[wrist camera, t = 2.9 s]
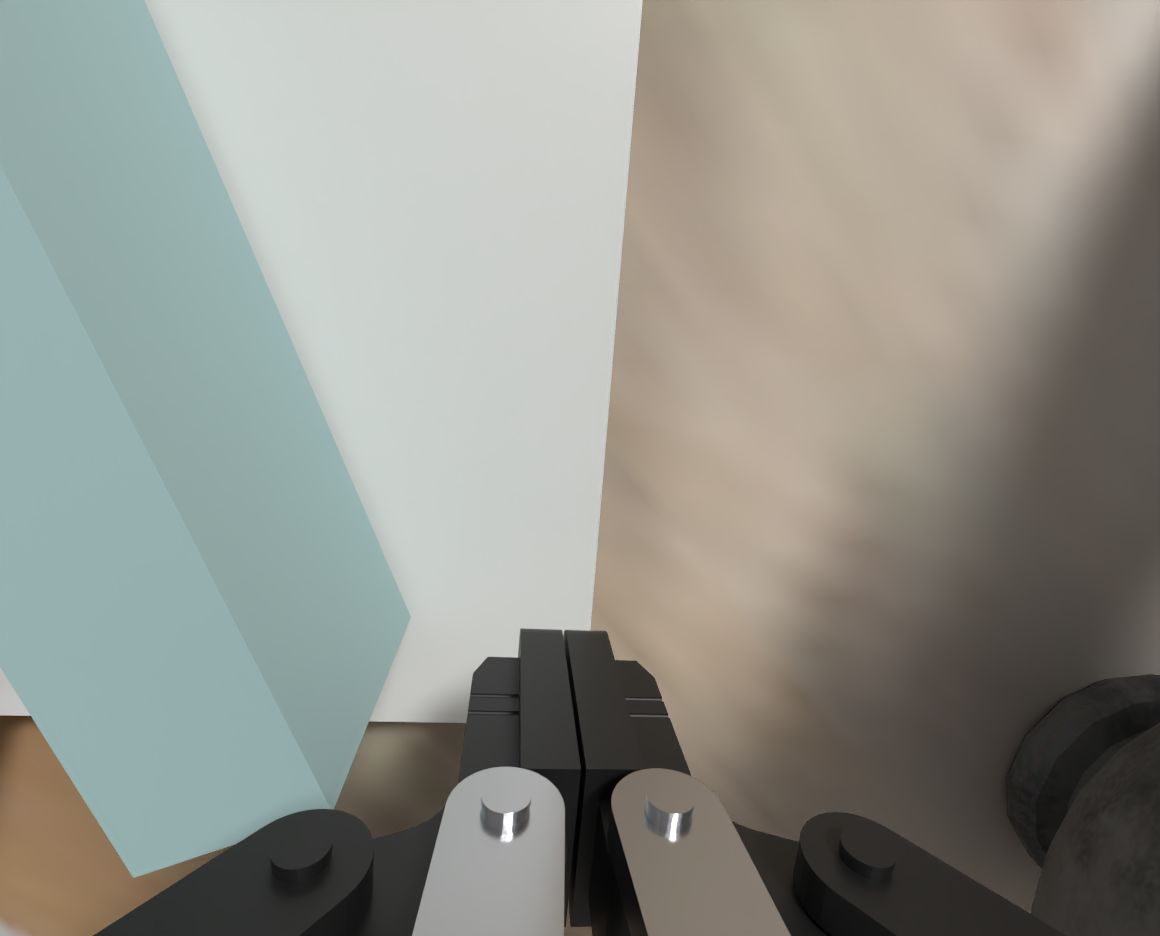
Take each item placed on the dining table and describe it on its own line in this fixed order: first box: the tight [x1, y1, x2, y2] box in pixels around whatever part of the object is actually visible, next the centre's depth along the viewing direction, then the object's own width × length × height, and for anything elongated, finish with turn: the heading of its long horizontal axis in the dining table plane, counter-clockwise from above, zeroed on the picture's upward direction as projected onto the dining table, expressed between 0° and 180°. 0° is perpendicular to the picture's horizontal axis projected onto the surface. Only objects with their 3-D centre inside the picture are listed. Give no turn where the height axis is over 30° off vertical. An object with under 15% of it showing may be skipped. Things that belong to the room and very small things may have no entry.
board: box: [0, 0, 643, 723], centre depth 14 cm, size 17×20×1 cm
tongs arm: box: [0, 0, 411, 878], centre depth 10 cm, size 17×4×7 cm, turn 18°
